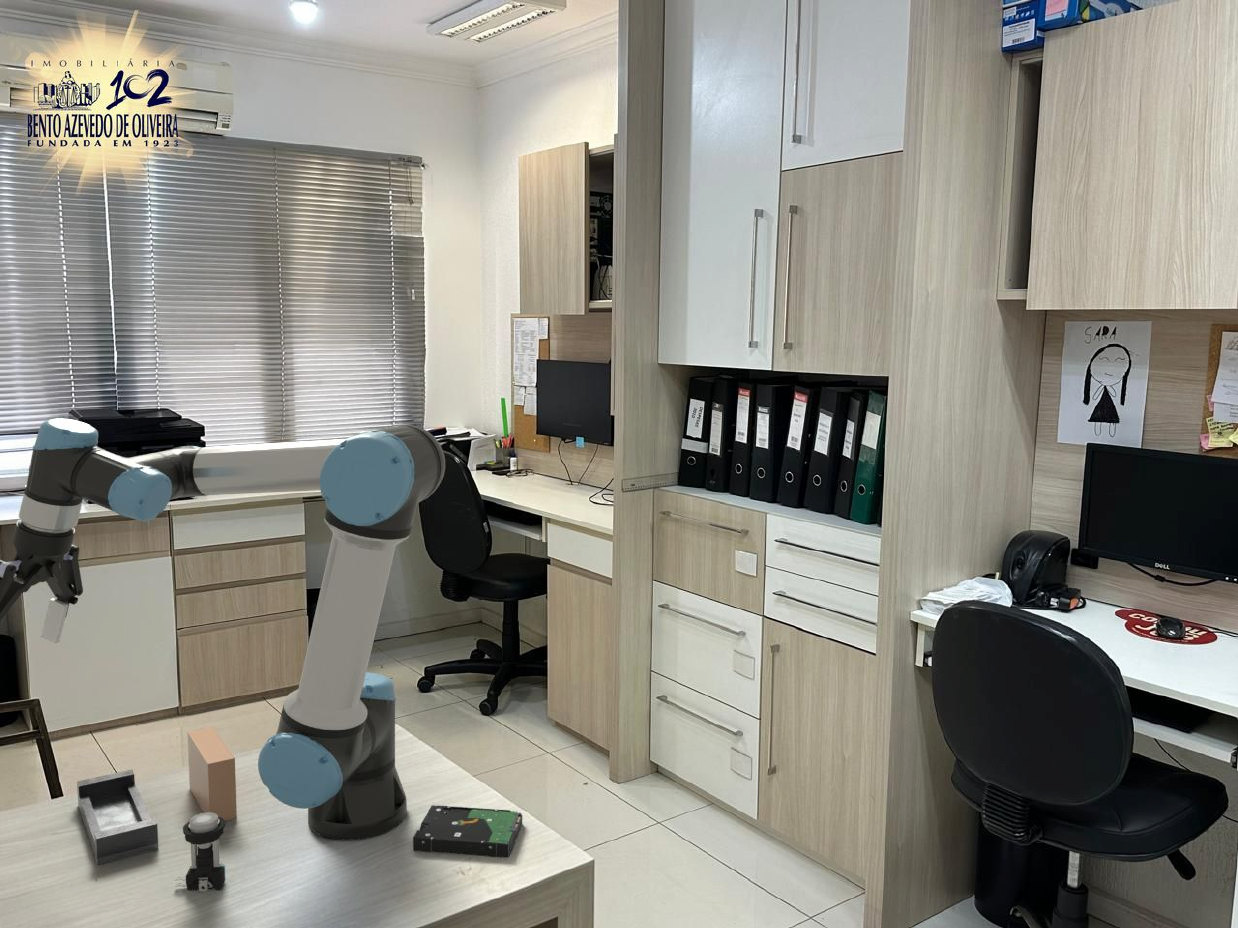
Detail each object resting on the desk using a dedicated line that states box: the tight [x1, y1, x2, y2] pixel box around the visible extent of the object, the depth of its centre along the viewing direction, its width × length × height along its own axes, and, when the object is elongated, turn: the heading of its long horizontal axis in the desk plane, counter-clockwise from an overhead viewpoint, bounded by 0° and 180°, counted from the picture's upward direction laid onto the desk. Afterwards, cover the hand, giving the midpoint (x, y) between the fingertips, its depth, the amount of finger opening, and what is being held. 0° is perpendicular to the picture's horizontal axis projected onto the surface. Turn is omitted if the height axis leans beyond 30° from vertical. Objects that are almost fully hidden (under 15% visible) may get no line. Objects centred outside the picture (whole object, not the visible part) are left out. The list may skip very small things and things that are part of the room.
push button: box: [174, 812, 227, 893], centre depth 134 cm, size 7×5×10 cm
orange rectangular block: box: [187, 726, 238, 822], centre depth 158 cm, size 14×4×10 cm, turn 35°
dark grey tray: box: [76, 769, 159, 866], centre depth 150 cm, size 21×8×4 cm, turn 35°
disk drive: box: [412, 804, 523, 859], centre depth 150 cm, size 10×3×15 cm
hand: (16, 653), depth 146 cm, fingers open, 13 cm apart
